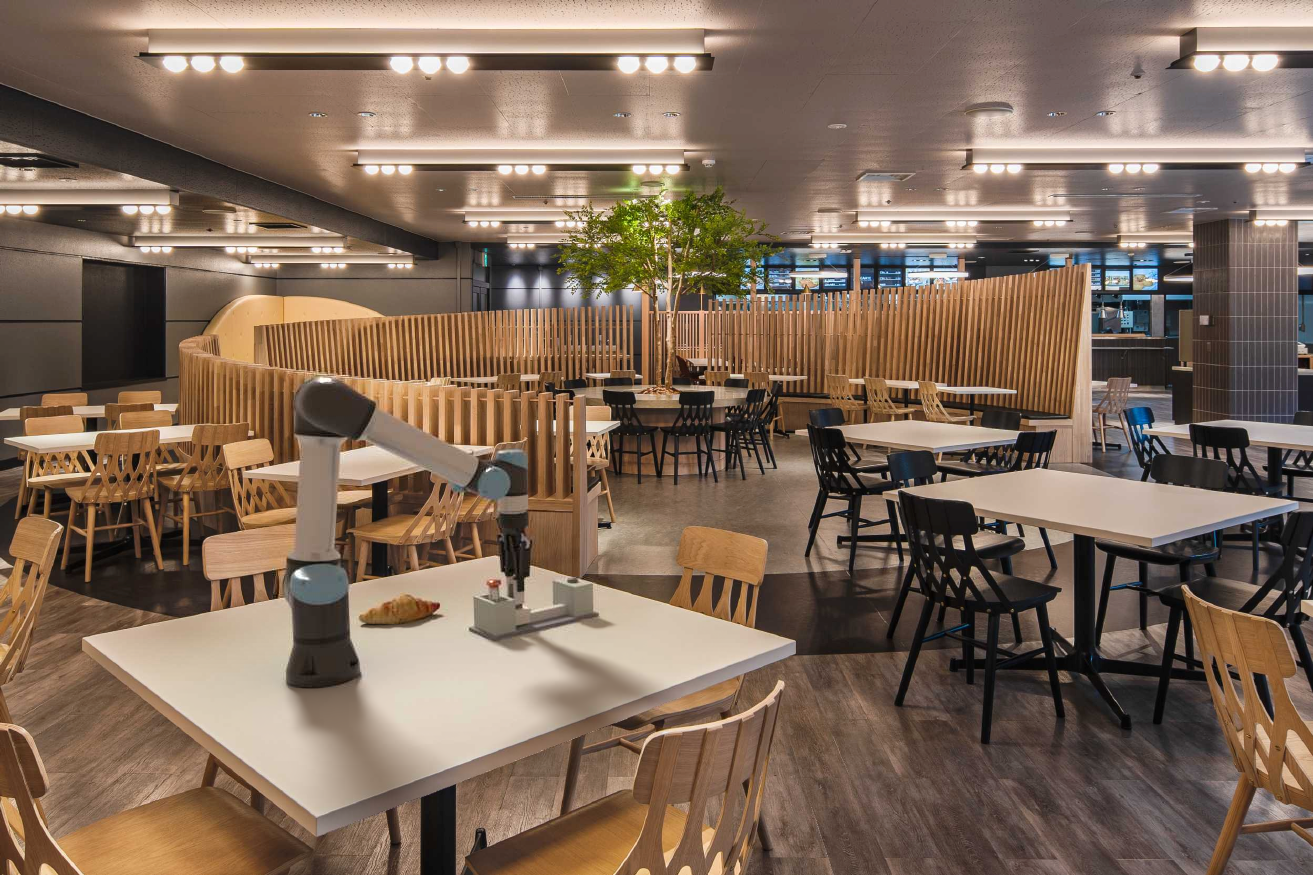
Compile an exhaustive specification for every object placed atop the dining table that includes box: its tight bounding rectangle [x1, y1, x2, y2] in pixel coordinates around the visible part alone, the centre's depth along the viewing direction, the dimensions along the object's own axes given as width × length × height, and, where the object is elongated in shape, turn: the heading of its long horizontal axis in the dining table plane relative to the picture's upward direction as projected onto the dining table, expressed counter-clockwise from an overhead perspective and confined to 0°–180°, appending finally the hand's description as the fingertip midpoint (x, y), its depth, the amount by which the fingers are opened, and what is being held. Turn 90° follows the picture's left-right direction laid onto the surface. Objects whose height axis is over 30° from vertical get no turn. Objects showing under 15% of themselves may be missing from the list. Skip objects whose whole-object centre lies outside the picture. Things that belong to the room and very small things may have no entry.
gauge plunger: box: [486, 578, 502, 603], centre depth 228 cm, size 4×4×9 cm
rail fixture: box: [468, 576, 600, 642], centre depth 236 cm, size 32×12×10 cm, turn 131°
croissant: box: [358, 593, 441, 625], centre depth 241 cm, size 21×10×8 cm, turn 120°
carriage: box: [509, 584, 532, 626], centre depth 232 cm, size 5×6×10 cm
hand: (515, 602), depth 232 cm, fingers closed on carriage, 2 cm apart
